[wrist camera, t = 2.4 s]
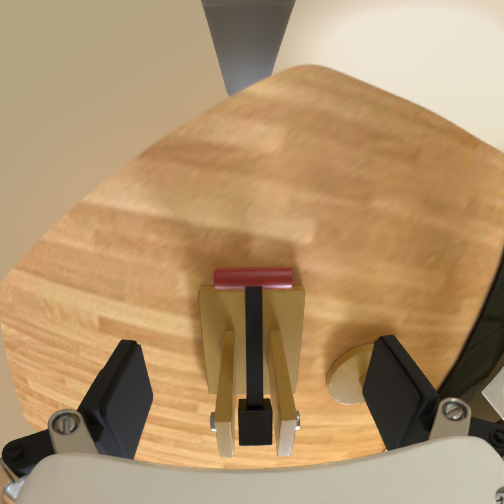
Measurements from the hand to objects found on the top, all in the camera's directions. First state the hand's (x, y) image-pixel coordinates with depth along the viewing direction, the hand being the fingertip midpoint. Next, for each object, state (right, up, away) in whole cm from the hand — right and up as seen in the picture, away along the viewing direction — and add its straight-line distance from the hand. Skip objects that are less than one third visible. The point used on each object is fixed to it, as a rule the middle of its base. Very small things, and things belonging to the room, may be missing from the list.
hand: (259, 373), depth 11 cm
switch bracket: (0, -4, +17) cm, 17 cm away
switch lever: (0, -2, +9) cm, 9 cm away
